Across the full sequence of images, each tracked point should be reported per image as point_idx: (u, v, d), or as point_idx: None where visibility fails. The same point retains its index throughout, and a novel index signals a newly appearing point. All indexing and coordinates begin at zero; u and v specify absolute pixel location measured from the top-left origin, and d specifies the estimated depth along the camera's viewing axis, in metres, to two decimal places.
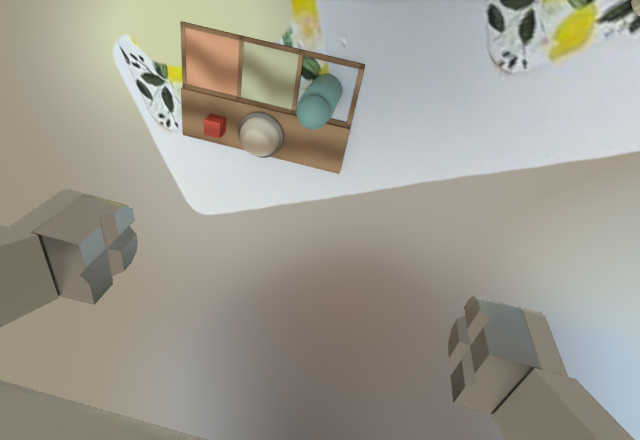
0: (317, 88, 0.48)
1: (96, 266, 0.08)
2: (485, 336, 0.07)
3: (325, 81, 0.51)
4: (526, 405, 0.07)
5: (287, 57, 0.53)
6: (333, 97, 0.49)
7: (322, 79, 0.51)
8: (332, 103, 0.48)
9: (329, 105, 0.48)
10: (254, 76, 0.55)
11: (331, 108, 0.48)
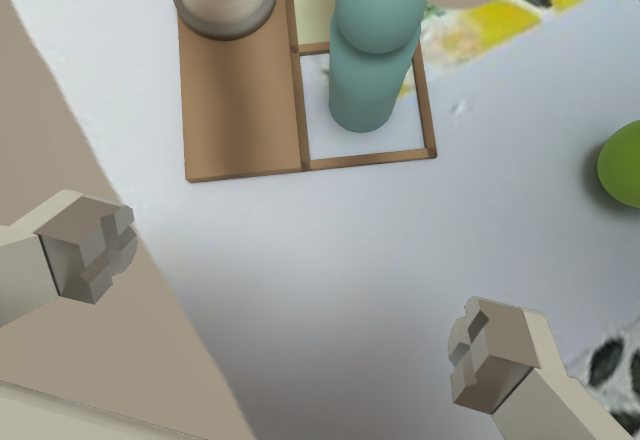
0: None
1: (96, 266, 0.08)
2: (485, 336, 0.07)
3: None
4: (526, 405, 0.07)
5: None
6: (399, 77, 0.20)
7: None
8: (399, 65, 0.19)
9: (396, 56, 0.19)
10: None
11: (391, 63, 0.18)
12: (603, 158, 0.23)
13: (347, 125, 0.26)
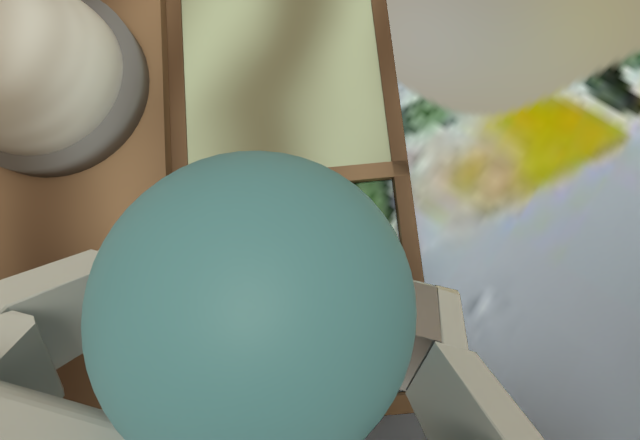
0: None
1: None
2: None
3: None
4: (430, 379, 0.07)
5: (369, 127, 0.15)
6: None
7: None
8: None
9: None
10: (268, 31, 0.16)
11: None
12: None
13: None
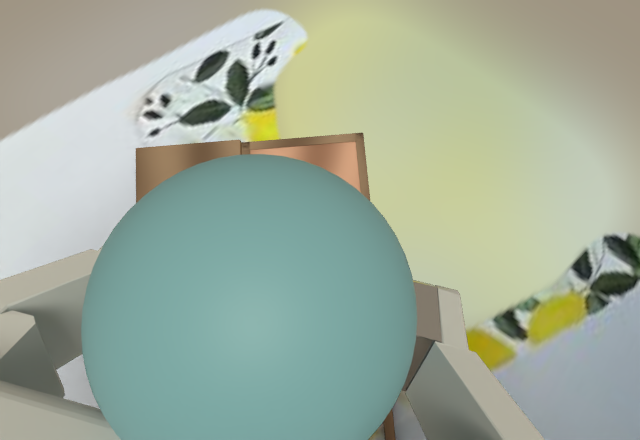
0: None
1: None
2: None
3: None
4: (430, 379, 0.07)
5: None
6: None
7: None
8: None
9: None
10: None
11: None
12: None
13: None
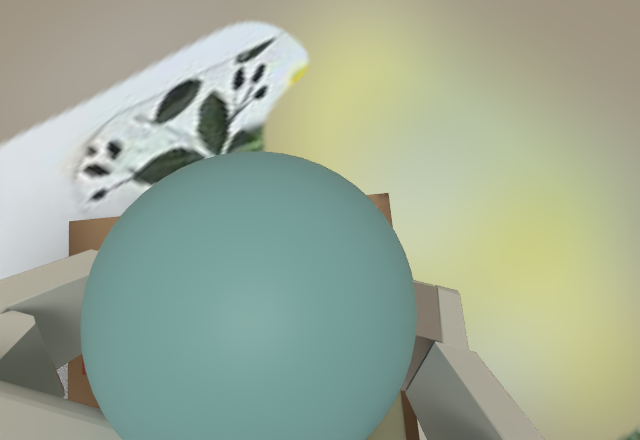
0: None
1: None
2: None
3: None
4: (430, 379, 0.07)
5: None
6: None
7: None
8: None
9: None
10: None
11: None
12: None
13: None
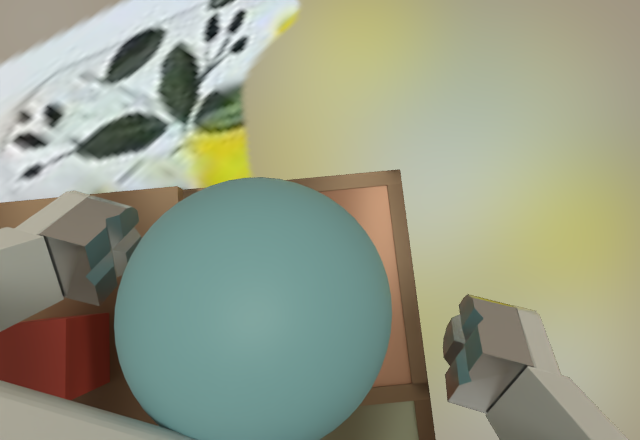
0: None
1: (101, 267, 0.08)
2: (479, 334, 0.07)
3: None
4: (520, 403, 0.07)
5: None
6: None
7: None
8: None
9: None
10: None
11: None
12: None
13: None
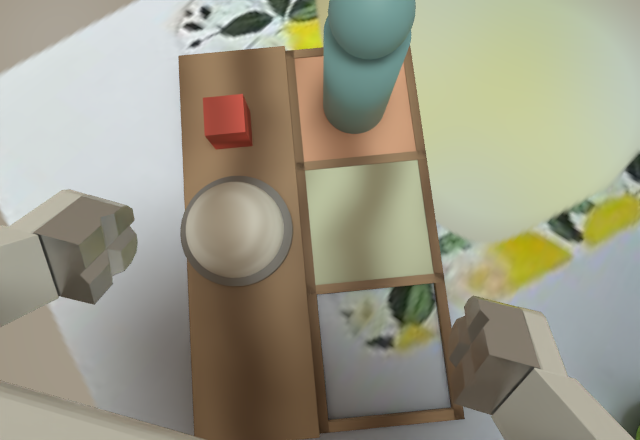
0: None
1: (96, 266, 0.08)
2: (485, 336, 0.07)
3: None
4: (526, 405, 0.07)
5: (420, 252, 0.26)
6: (390, 81, 0.21)
7: None
8: (390, 71, 0.20)
9: (387, 62, 0.19)
10: (358, 191, 0.26)
11: (382, 68, 0.19)
12: None
13: (340, 127, 0.26)
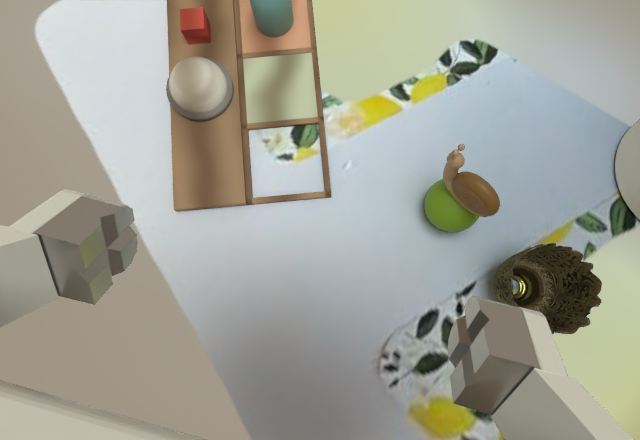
0: None
1: (96, 266, 0.08)
2: (485, 336, 0.07)
3: None
4: (526, 405, 0.07)
5: (310, 105, 0.43)
6: None
7: None
8: None
9: None
10: (274, 71, 0.44)
11: None
12: None
13: (264, 31, 0.44)
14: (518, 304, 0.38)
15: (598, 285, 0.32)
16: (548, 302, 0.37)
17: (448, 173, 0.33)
